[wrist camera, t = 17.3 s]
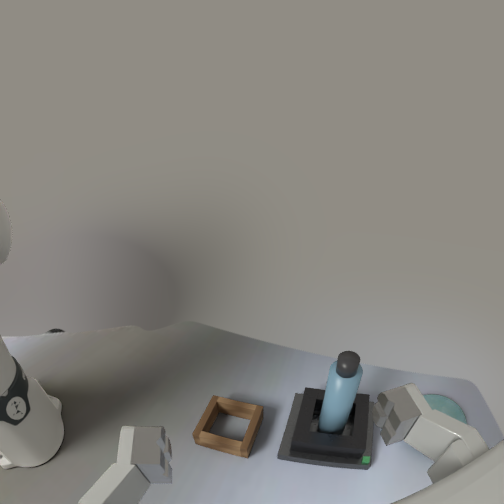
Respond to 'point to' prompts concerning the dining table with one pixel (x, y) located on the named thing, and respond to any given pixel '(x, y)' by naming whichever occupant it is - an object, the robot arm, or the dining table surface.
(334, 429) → the blue bottle
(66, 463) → the dining table surface
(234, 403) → the wooden square frame
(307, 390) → the port
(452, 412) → the saucer
